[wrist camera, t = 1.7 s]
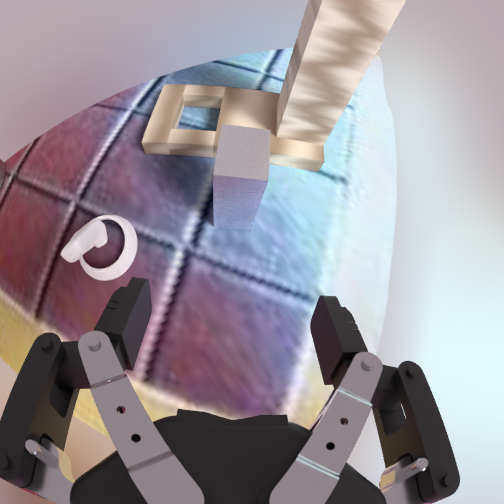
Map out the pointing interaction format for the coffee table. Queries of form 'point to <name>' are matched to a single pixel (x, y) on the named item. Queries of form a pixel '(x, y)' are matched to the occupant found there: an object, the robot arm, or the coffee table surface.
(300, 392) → the coffee table surface
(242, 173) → the smooth gray rectangular block
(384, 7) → the beam with square loop
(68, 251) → the white vr controller
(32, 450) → the robot arm
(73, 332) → the coffee table surface
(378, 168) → the coffee table surface
